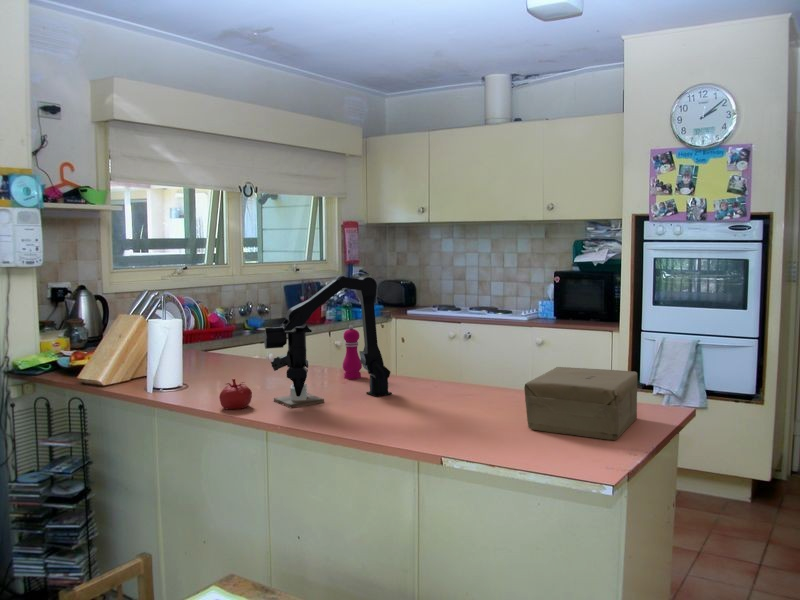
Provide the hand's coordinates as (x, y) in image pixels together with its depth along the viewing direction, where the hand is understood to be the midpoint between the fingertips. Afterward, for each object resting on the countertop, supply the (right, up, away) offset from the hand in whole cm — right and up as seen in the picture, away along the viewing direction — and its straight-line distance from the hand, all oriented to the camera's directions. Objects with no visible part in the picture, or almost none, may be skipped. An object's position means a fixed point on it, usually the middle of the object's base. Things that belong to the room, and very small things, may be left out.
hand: (298, 394), depth 230 cm
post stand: (0, -2, 0) cm, 2 cm away
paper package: (+84, -4, -33) cm, 90 cm away
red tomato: (-19, -4, -6) cm, 20 cm away
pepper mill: (+15, +1, +38) cm, 41 cm away
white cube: (0, -1, 0) cm, 1 cm away
